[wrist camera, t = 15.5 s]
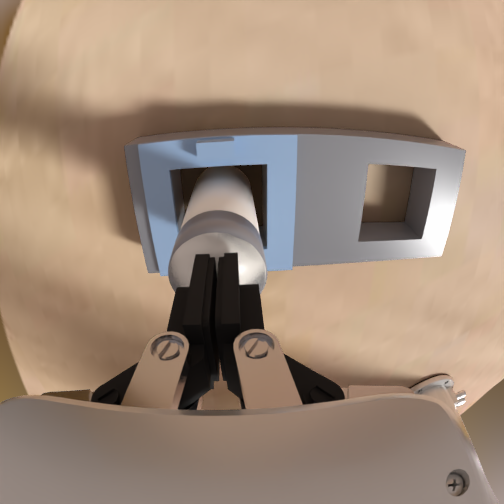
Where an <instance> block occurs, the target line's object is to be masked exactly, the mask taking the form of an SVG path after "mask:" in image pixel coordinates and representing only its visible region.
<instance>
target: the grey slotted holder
mask: <svg viewBox="0 0 504 504" xmlns="http://www.w3.org/2000/svg"><path fill="white" fill-rule="evenodd" d="M124 149H125V156H126V163H127V170H128V176H129V182H130V188H131V194H132V199H133V205H134V210H135V215H136V220H137V225H138V230H139V235H140V240H141V244H142V249H143V253H144V257H145V262H146V266H147V270H148V273H160V275H161V276H168V265H169V261H170V258H171V254H172V251H173V248H174V245H175V241H176V238H177V235H178V233H179V231H180V229H181V226H182V223H183V220H184V217H185V208H184V200H183V191H182V182H181V173H180V169H186V168H199V167H214V166H232V165H256V164H262V220H263V226H258V228H259V233H260V237H261V240H262V244H263V249H264V255H265V260H266V265H267V271H278V270H292V266H307V265H324V264H339V263H355V262H370V261H384V260H398V259H412V258H425V257H438V256H442V253H443V250H444V246H445V243H446V240H447V236H448V233H449V229H450V225H451V221H452V217H453V213H454V209H455V205H456V201H457V196H458V191H459V187H460V182H461V176H462V171H463V165H464V159H465V153H466V150H464V149H461V148H459V147H457V146H454V145H452V144H450V143H447V142H445V141H441V140H435V139H429V138H423V137H416V136H409V135H401V134H393V133H384V132H374V131H363V130H350V129H333V128H308V127H253V128H228V129H211V130H198V131H186V132H176V133H167V134H158V135H150V136H143V137H138V138H136V139H135V140H133V141H131V142H130V143H128V144H126V145H125V146H124ZM368 164H383V165H397V166H410V167H414V170H413V177H412V183H411V189H410V195H409V201H408V206H407V211H406V216H405V221H404V222H369V223H361V219H362V213H363V205H364V198H365V190H366V181H367V172H368Z"/></svg>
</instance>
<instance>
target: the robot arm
mask: <svg viewBox="0 0 504 504" xmlns="http://www.w3.org/2000/svg"><path fill="white" fill-rule="evenodd" d="M219 363H220V364H221V370H222V376H223V381H227V385H228V390H230V391H231V392H232V393H234V394H235V395H236V396H238V397H239V403H240V408H241V409H240V410H201V408H202V403H203V395H204V394H205V393H207V392H208V391H209V390H210V389H214V381H219ZM453 386H454V382H453V380H452V378H451V377H450V376H448V375H440V376H436V377H432V378H430V379H427V380H425V381H423V382H421V383H419V384H417V385H415V386H414V387H412V388H410V389H409V388H407V387H405V386H366V385H349V386H348V388H340V386H338V385H337V384H336V383H334V382H333V381H331V380H329V379H327V378H325V377H323V376H322V375H320V374H318V373H316V372H315V371H313V370H311V369H309V368H307V367H306V366H304V365H302V364H301V363H299V362H297V361H295V360H294V359H292V358H290V357H289V356H287V355H285V354H283V351H282V348H281V346H280V343H279V341H278V339H277V337H276V336H275V335H273V334H272V333H271V332H268V331H266V330H264V323H263V315H262V307H261V298H260V290H259V284H244V285H240V284H239V266H238V252H236V253H224V257H219V262H218V276H217V272H216V262H215V257H210V254H196V255H195V259H194V264H193V269H192V275H191V280H190V285H189V287H177V289H176V293H175V297H174V301H173V306H172V310H171V314H170V319H169V324H168V328H167V332H163V333H160V334H157V335H155V336H154V337H153V338H151V339H150V340H149V342H148V343H147V345H146V347H145V350H144V352H143V354H142V356H141V359H140V361H139V362H138V363H136V364H135V365H133V366H132V367H130V368H128V369H127V370H125V371H124V372H122V373H121V374H119V375H117V376H116V377H114V378H113V379H111V380H110V381H108V382H106V383H105V384H103V385H102V386H100V387H99V388H98V389H96V390H95V392H91V390H90V389H88V390H75V391H60V392H47V393H43V394H42V395H25V396H19V397H14V398H10V399H7V400H5V401H3V402H1V403H0V504H500V503H499V501H498V500H497V498H496V496H495V494H494V493H493V491H492V489H491V487H490V485H489V483H488V481H487V478H486V476H485V473H484V471H483V469H482V466H481V464H480V461H479V459H478V456H477V454H476V451H475V449H474V446H473V444H472V442H471V439H470V437H469V435H468V432H467V430H466V428H465V426H464V423H463V421H462V419H461V417H460V415H459V413H458V410H457V408H456V407H457V406H460V405H462V404H464V402H465V398H464V397H465V396H466V392H465V391H464V390H462V391H460V392H457V393H454V391H453V389H452V388H453Z"/></svg>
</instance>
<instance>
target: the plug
mask: <svg viewBox="0 0 504 504" xmlns="http://www.w3.org/2000/svg"><path fill="white" fill-rule="evenodd" d="M236 252H238V266H239V284H240V285H244V284H259V290H260V294H261V292H262V290H263V289H264V286H265V284H266V280H267V265H266V260H265V255H264V249H263V244H262V240H261V237H260V233H259V228H258V222H257V217H256V211H255V206H254V200H253V195H252V190H251V185H250V182H249V180H248V178H247V176H246V175H245V174H244V173H243V172H242V171H241V170H239V169H238V168H236V167H233V166H214V167H210V168H208V169H206V170H205V171H204V172H203V173H202V174H201V175H200V176H199V177H198V179H197V181H196V184H195V187H194V190H193V193H192V195H191V198H190V201H189V204H188V207H187V210H186V213H185V217H184V220H183V223H182V226H181V229H180V231H179V233H178V235H177V238H176V241H175V245H174V248H173V251H172V254H171V258H170V261H169V265H168V276H169V281H170V284H171V286H172V288H173V290H174V291H175V293H176V289H177V287H189V285H190V280H191V275H192V269H193V264H194V259H195V255H196V254H210V257H215V262H216V272H217V276H218V262H219V257H224V253H236Z"/></svg>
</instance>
